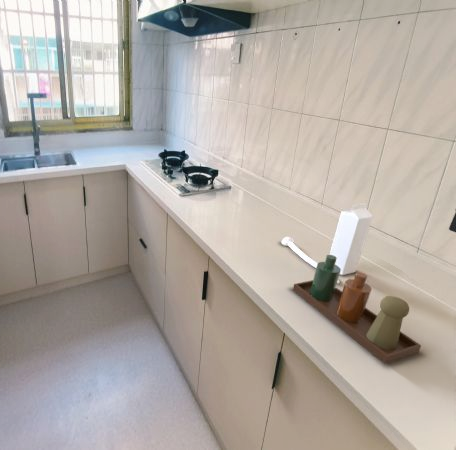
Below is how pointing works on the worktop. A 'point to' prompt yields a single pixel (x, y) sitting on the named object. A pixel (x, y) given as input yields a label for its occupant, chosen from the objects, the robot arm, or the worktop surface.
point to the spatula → (299, 251)
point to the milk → (351, 237)
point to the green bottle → (325, 279)
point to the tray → (358, 326)
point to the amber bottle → (354, 299)
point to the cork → (388, 323)
